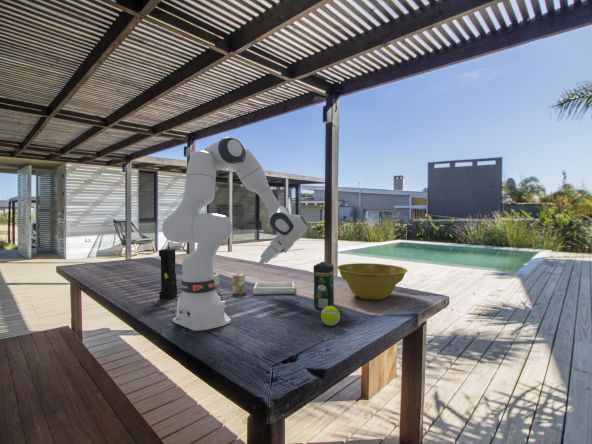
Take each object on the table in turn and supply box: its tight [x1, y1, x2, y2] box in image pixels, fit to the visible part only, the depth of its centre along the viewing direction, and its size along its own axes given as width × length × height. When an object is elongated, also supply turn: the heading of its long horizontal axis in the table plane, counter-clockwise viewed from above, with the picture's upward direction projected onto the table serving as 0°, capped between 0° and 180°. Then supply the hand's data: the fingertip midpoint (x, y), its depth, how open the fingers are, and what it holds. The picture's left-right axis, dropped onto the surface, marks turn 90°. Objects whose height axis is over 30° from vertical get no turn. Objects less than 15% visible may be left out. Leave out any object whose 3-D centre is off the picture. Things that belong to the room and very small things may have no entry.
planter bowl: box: [336, 262, 408, 300], centre depth 148 cm, size 32×32×13 cm
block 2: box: [231, 273, 246, 295], centre depth 156 cm, size 5×5×9 cm
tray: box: [252, 281, 296, 295], centre depth 160 cm, size 20×14×3 cm
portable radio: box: [158, 243, 178, 300], centre depth 147 cm, size 8×6×25 cm
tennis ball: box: [320, 305, 341, 327], centre depth 109 cm, size 7×7×7 cm
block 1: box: [213, 273, 220, 294], centre depth 156 cm, size 5×5×9 cm
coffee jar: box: [313, 261, 335, 310], centre depth 131 cm, size 10×8×19 cm
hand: (262, 263), depth 153 cm, fingers open, 8 cm apart
